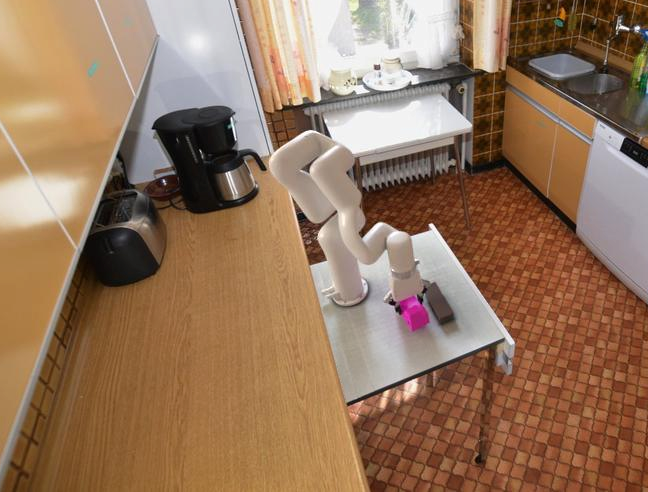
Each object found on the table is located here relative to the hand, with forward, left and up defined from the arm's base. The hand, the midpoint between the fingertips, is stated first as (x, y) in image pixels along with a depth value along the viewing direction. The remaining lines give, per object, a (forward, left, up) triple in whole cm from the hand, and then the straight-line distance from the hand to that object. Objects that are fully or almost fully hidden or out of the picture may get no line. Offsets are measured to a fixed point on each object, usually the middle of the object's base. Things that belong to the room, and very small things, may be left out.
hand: (409, 307), depth 142 cm
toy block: (0, 0, -2) cm, 2 cm away
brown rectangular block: (+10, 0, -4) cm, 11 cm away
